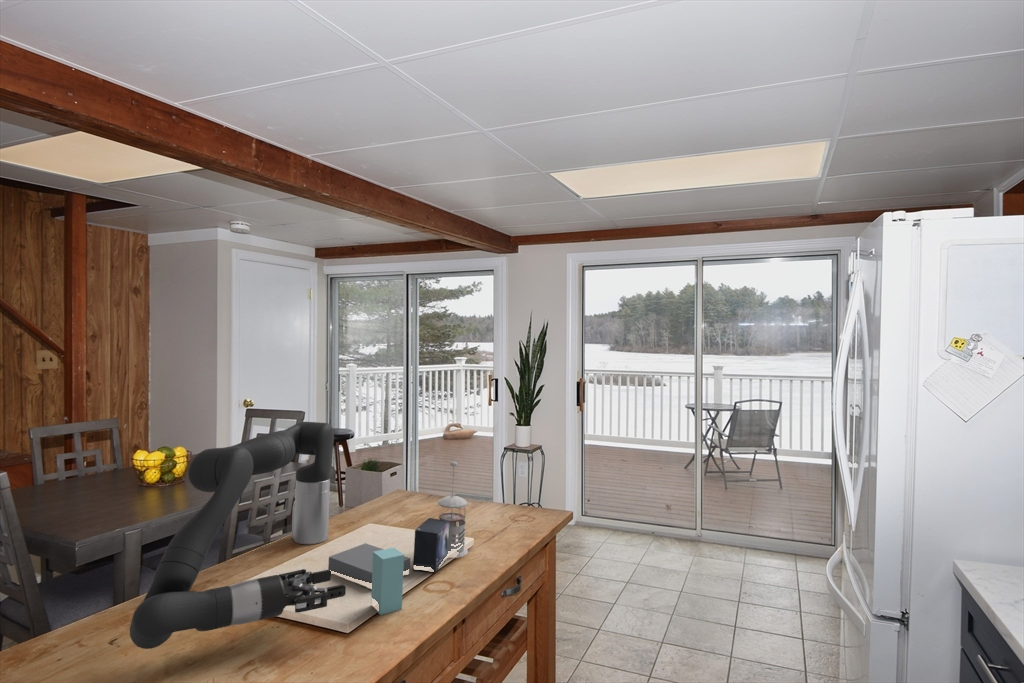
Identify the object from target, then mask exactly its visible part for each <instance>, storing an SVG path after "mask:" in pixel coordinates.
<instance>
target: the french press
mask: <svg viewBox="0 0 1024 683" xmlns="http://www.w3.org/2000/svg"><path fill="white" fill-rule="evenodd" d="M457 466H458V462H457V461H451V462H450V467H453V468H452V473H453V474H452V484H454V480H455V476H454V475H455V467H457ZM451 490H452V495H447V496H445V497H442V498H440V499H439V500H438V501H437V505H438V506H440V507H443V508H445V509H446V508H447V509H458V510H459V511H458V512H453V511H450V512H444V513H441V514H439V516H438V518H439V519H440V520H447V521H450V522H449V540H448V551H451V549H457V548H459V547H460V546H461V545H462V544H463V546H462V547H461V548H460V549H459V550H457V552H459V554H458V555H457V557H456V558H455V559H458V558H462V557H464V556H466V555H468V553H469V551H468V548H466V549H464V547H465V540H466V539H465V537H466V533H465V532H466V521H465V520H466V513H464V514H462V513H461V509H462V508H463V509H464V511H466V506H467V504H468V501H467V500H465V499H464V498H463V497H460V496H457V495H454V488H452V489H451ZM457 535H458V536H457ZM458 543H461V544H460V545H458V546H456V547H454V546H451V544H454V545H456V544H458Z"/></svg>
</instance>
